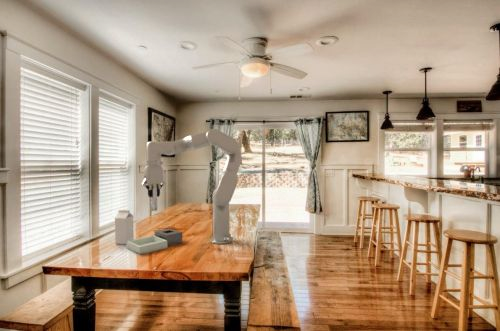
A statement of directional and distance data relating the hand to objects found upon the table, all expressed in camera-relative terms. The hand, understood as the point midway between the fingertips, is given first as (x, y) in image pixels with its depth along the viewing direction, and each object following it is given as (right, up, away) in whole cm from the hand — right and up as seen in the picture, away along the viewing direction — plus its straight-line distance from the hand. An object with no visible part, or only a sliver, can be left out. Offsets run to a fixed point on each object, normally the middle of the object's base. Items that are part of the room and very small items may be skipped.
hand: (154, 196), depth 159 cm
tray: (-2, -28, -4) cm, 28 cm away
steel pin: (0, -8, 0) cm, 8 cm away
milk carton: (-20, -28, +7) cm, 35 cm away
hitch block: (+6, -28, +8) cm, 29 cm away
